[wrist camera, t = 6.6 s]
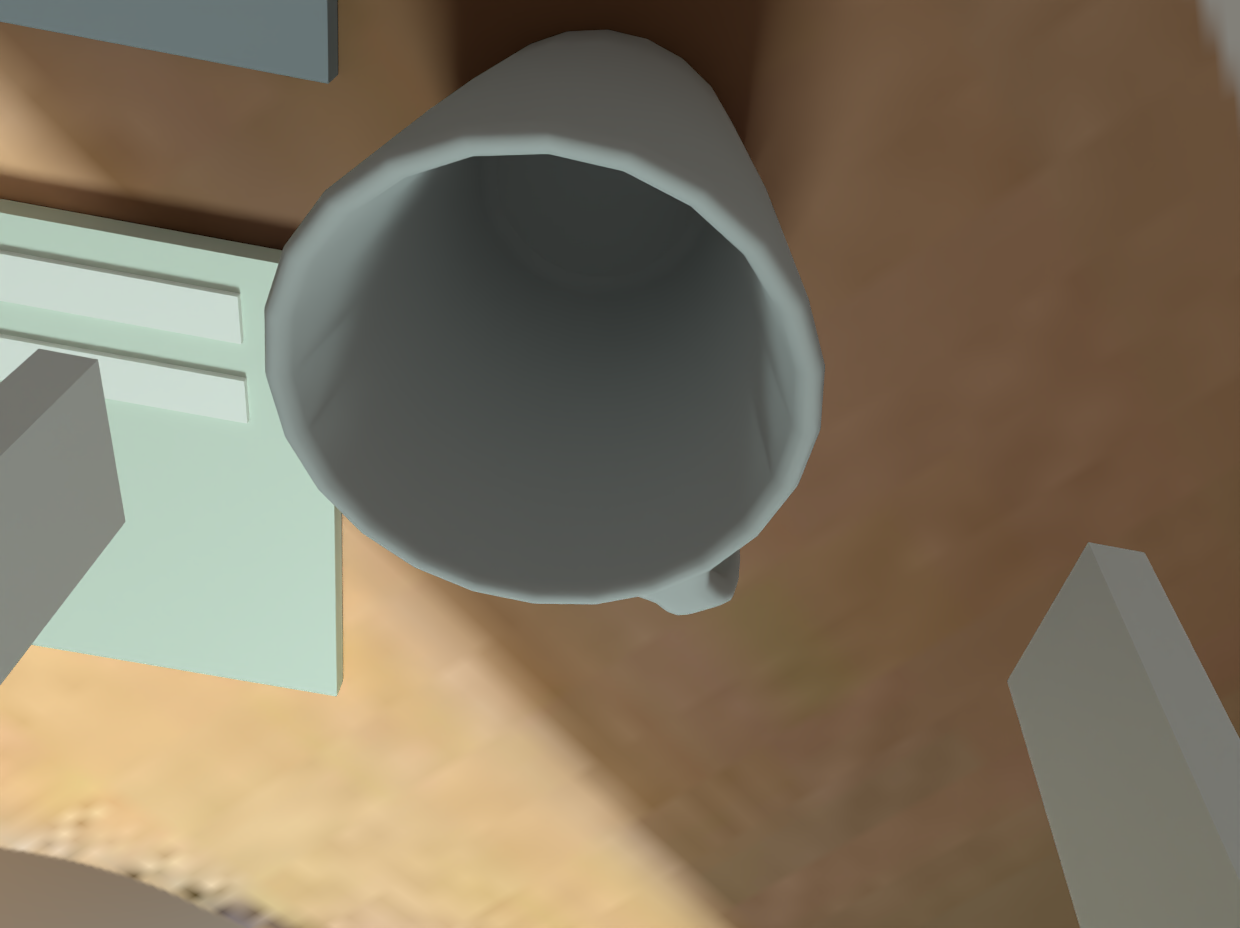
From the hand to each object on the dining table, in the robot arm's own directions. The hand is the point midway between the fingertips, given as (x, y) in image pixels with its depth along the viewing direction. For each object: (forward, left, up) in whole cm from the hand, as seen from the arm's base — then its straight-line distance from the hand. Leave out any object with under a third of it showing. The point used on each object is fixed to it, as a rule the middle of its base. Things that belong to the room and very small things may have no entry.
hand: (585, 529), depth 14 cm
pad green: (+9, -13, -9) cm, 18 cm away
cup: (0, 0, -10) cm, 10 cm away
